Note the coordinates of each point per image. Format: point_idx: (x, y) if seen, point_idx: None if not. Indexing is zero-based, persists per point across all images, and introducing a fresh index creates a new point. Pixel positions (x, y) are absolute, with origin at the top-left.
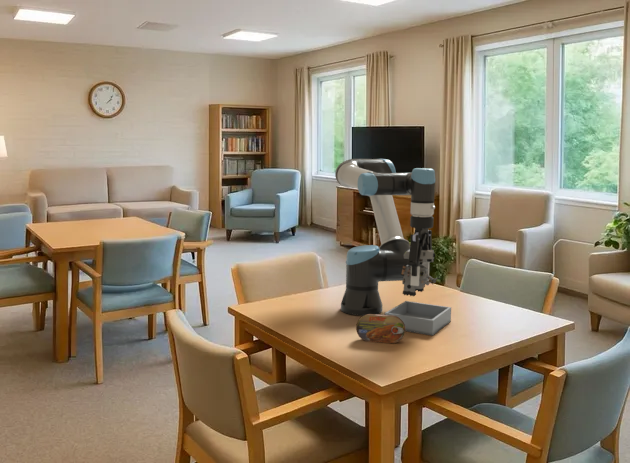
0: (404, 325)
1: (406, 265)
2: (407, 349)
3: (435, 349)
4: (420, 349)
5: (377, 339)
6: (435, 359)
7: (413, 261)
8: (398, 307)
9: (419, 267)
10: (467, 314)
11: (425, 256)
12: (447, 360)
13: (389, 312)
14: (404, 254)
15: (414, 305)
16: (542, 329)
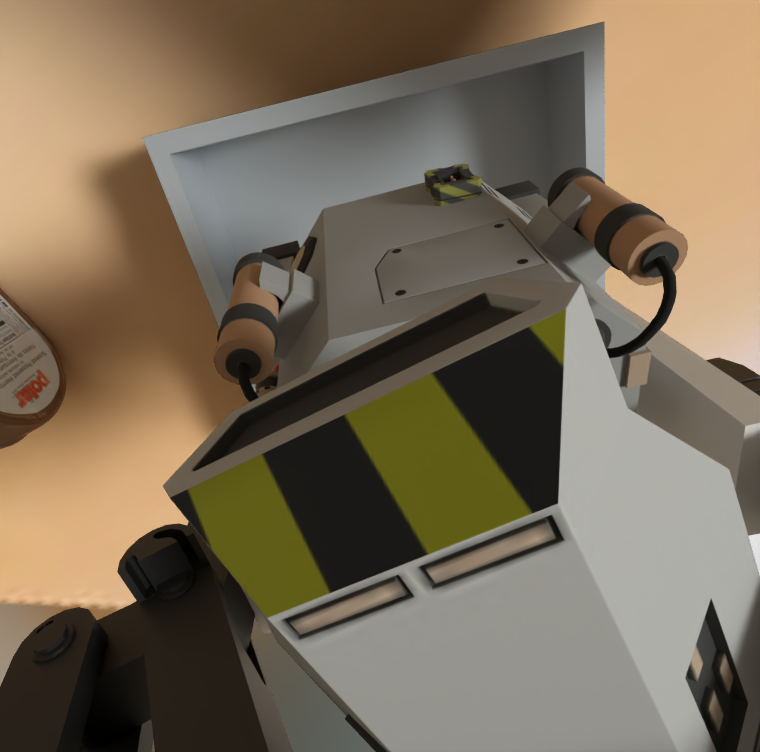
0: (26, 432)
1: (349, 339)
2: (25, 443)
3: (139, 510)
4: (81, 475)
5: None
6: (49, 561)
7: (230, 631)
8: (387, 99)
9: None
10: (754, 340)
11: None
12: (83, 587)
13: (200, 146)
14: (194, 517)
15: (575, 128)
16: None
